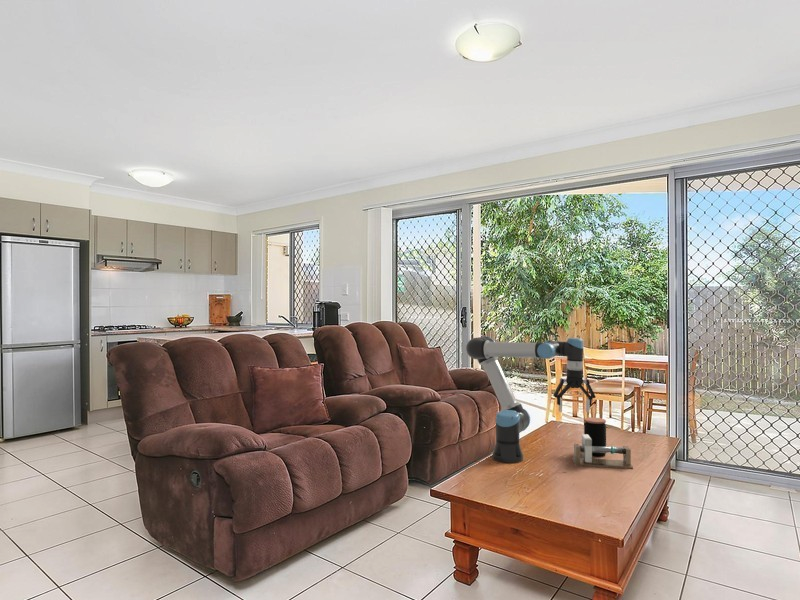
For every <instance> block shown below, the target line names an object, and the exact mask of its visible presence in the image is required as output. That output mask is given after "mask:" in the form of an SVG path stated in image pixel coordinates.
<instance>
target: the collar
mask: <svg viewBox="0 0 800 600" xmlns="http://www.w3.org/2000/svg"><path fill="white" fill-rule="evenodd" d="M581 446H584V452H581V458H583V459H584V461H585V462H592V459H593V456H592V439H591V438H590V436H589V435H588V434H584V433H581Z"/></svg>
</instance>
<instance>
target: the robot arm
mask: <svg viewBox="0 0 800 600" xmlns="http://www.w3.org/2000/svg"><path fill="white" fill-rule="evenodd" d="M465 347H466V348H465V350H466V353H467V355H468V356H469V358H472V359H474V360H476V361H477V362H478V364H479V365H480V366H482V367H483V369H484V371H485V373H486V375H487V377H488V380H489V382H490V384H491V386H492V389H493V391H494V393H495V395H496V398H497V400H498V402H499V405H500V407H501V409H500V411H498V412H497V413H496V415H495V445H494V448H493V451H492V459H493V460H494V461H496V462H499V463H508V464H511V463H512V464H515V463H520V462H523V460H524V454H523V450H522V448H521V444H520V433H521V432H524V431H525V430H526V429H527V428H528V427H530V423H531V416H530V414H529V412H528V411H527V410H526V409H525V408H523V404H522V403H521V402H518V401H517V399H516V396H515V395H514V393H513V390H512V388H511V386H510V383H509V382H508V380H507V378H506V374H505V373H504V371H503V368H502V367H501V364H500V362H499V358H532V359H533V358H536V359H544V360H546V359H547V360H548V359H551V358H554V357H566V368H567V369H566V378H562V377H561V378H560V379H559V383H558V385H557V387H556V389H555V391H554V393H553V394H552V395H553V397H554V398H555V399H556V405H558V412H559V413H562V412H563V411H562V410H563V409H562V408H563V398H562V397H563V396H564V395H565V393H567V391H568V390H569V389H580V390H581V391H582V393H583V394H584V395H585V396H586V397H587V398H585V399H586V401H585V402H586V403H585V412H586V413H588V414H589V413H590V409H591V406H592V400H593V399H596V394H595V393H594V391H593V389H592V385H591V384H590V380H589V379H588V378H585V379H583V376H584V374H583V373H584V371H583V369H584V341H583V339H582V338H580V337H579V338H577V337H568V338H567V339H566V341H559V340H545V341H543V342H527V341H525V342H520V341H519V342H517V341H515V342H513V341H512V342H509V341H503V342H502V341H500V342H499V341H495V339H493V338H492V337H490V336H483V335H482V336H480V337H473V338H471V339H469V340H468V342H467V344H466V345H465ZM565 383H566V385H565V386H564V384H565ZM583 383H584V384H585V386H586V388H587V389H586V388H584V386H583ZM563 386H564V387H563ZM562 387H563V388H562ZM587 390H588V391H587Z"/></svg>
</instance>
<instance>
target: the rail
mask: <svg viewBox="0 0 800 600" xmlns="http://www.w3.org/2000/svg"><path fill="white" fill-rule="evenodd" d="M631 451H632V450H631V448H630V447H629V446H627V445H623V446H622V447H621V446H620V447H619V446H618V447H617V446H606V447H601V446H592V452H593V453H606V454H611V455H616V454H617V455H618V454H619V455H622V459H608V458H607V459H606V458H592V462H585V461H584V459H583V457H581V453H582V452H584V446H582V445H579V444H578V443H574V444H573V457H572V461H573V463H574V465H575V466H576V467H592V468H594V467H595V468H609V469H610V468H612V469H613V468H615V469H629V470H631V469H632V470H634V466H633V465H632V461H631V459H632V456H631V454H632V453H631Z"/></svg>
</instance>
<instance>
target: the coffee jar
mask: <svg viewBox="0 0 800 600" xmlns="http://www.w3.org/2000/svg"><path fill="white" fill-rule="evenodd" d="M583 421H584V423H583V434H588V435H589V436H590V438H591V439H592V446H601V447H607V425H606V422H607V420H606V419H605V418H602V417H601V418H600V417H591V416H590V417H585V418H584V419H583ZM606 454H607V453H593V452H592V457H595V458H599V457H605V455H606Z"/></svg>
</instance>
